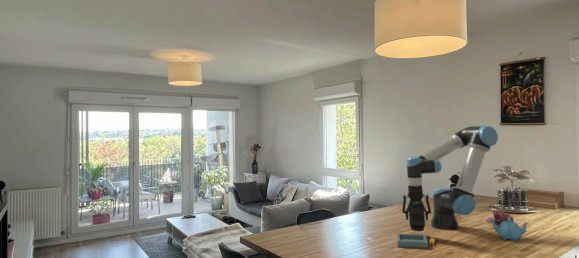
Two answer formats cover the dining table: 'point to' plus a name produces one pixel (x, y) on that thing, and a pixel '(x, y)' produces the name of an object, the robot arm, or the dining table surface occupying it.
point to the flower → (499, 217)
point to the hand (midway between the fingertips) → (417, 225)
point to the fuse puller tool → (432, 241)
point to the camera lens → (416, 216)
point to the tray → (412, 241)
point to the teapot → (509, 229)
